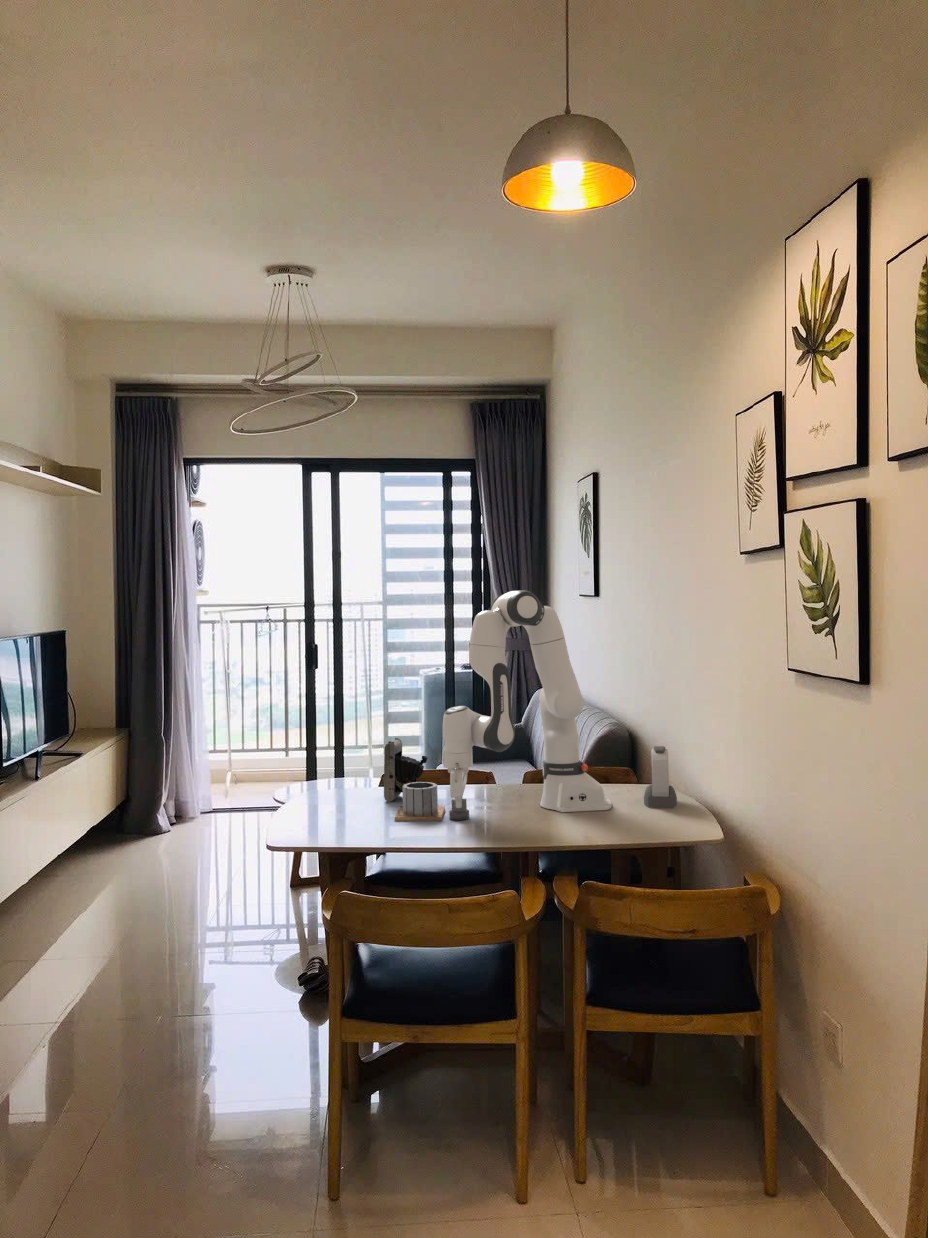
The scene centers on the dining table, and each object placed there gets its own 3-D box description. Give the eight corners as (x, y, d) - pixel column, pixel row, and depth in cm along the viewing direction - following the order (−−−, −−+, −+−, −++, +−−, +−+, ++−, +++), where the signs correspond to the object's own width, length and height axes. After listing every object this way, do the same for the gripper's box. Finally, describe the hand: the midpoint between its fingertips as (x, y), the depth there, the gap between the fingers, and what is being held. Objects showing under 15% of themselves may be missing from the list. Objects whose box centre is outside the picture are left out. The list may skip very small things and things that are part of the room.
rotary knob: (469, 815, 270) (469, 797, 270) (468, 820, 264) (468, 801, 264) (450, 815, 270) (449, 797, 270) (448, 820, 264) (448, 801, 264)
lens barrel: (445, 809, 278) (444, 780, 278) (441, 821, 264) (440, 790, 264) (401, 810, 279) (400, 781, 279) (394, 821, 265) (394, 790, 265)
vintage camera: (428, 804, 288) (429, 743, 287) (382, 801, 291) (384, 741, 291) (435, 798, 297) (436, 739, 297) (391, 796, 300) (392, 737, 300)
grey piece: (644, 797, 290) (643, 742, 290) (676, 798, 288) (675, 742, 287) (643, 809, 274) (642, 750, 274) (677, 810, 272) (676, 751, 272)
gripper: (466, 767, 256) (467, 814, 256) (470, 754, 276) (471, 798, 277) (444, 767, 256) (446, 814, 257) (449, 754, 277) (451, 798, 277)
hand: (459, 806), depth 267 cm, fingers closed on rotary knob
